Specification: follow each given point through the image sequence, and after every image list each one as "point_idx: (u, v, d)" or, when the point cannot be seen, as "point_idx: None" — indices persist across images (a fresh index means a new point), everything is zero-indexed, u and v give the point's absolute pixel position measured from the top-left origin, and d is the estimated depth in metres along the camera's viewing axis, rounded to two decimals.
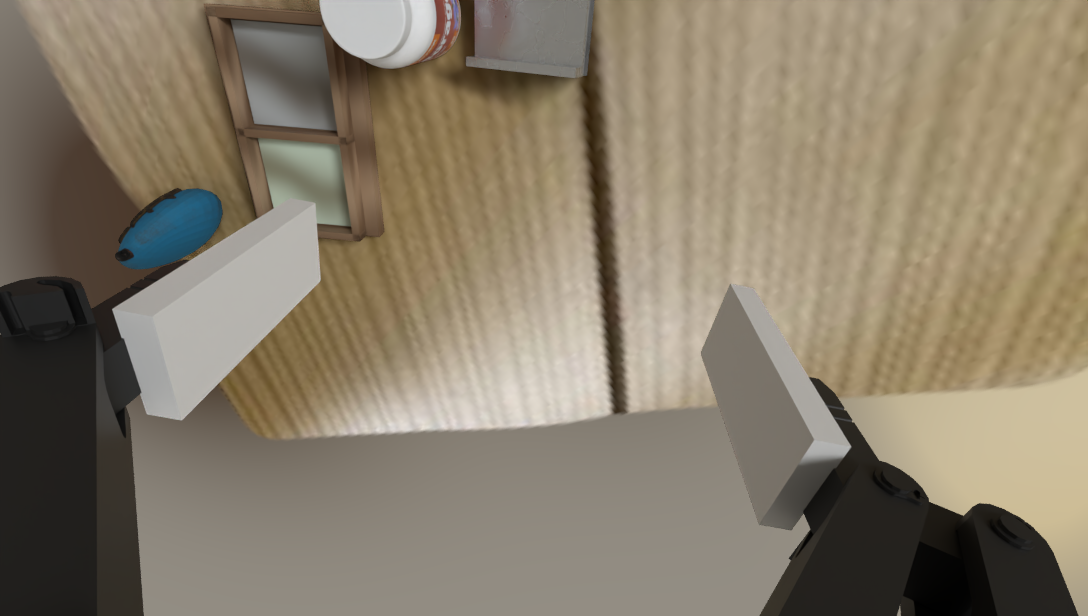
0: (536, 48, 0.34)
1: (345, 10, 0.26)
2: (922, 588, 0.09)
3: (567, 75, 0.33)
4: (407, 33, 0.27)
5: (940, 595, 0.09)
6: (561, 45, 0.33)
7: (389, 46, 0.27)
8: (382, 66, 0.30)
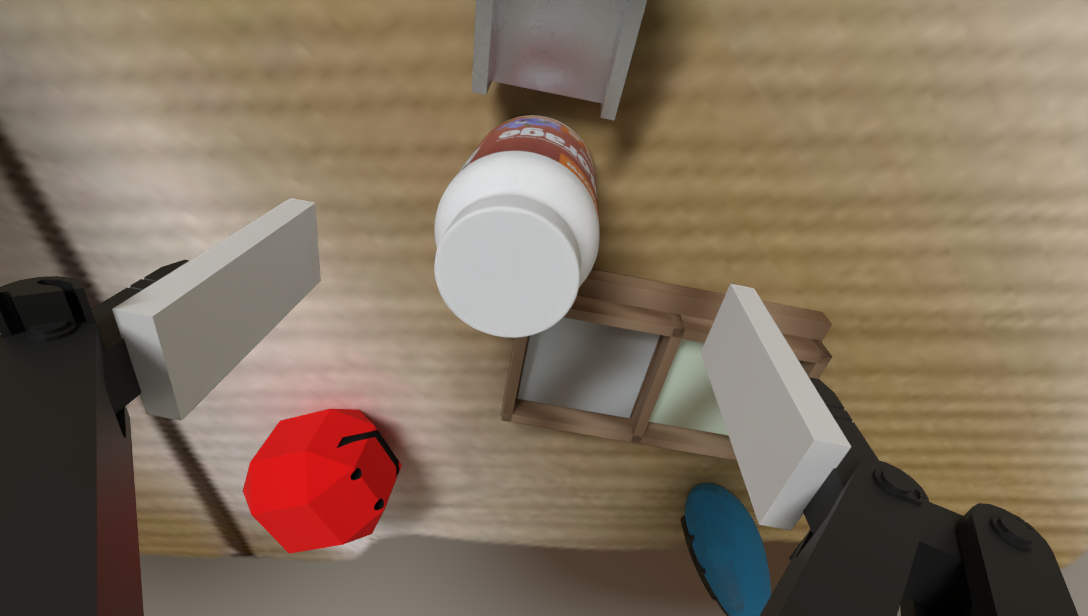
0: None
1: (503, 301, 0.16)
2: (922, 588, 0.09)
3: None
4: (548, 211, 0.15)
5: (940, 595, 0.09)
6: None
7: (563, 249, 0.15)
8: (592, 261, 0.18)
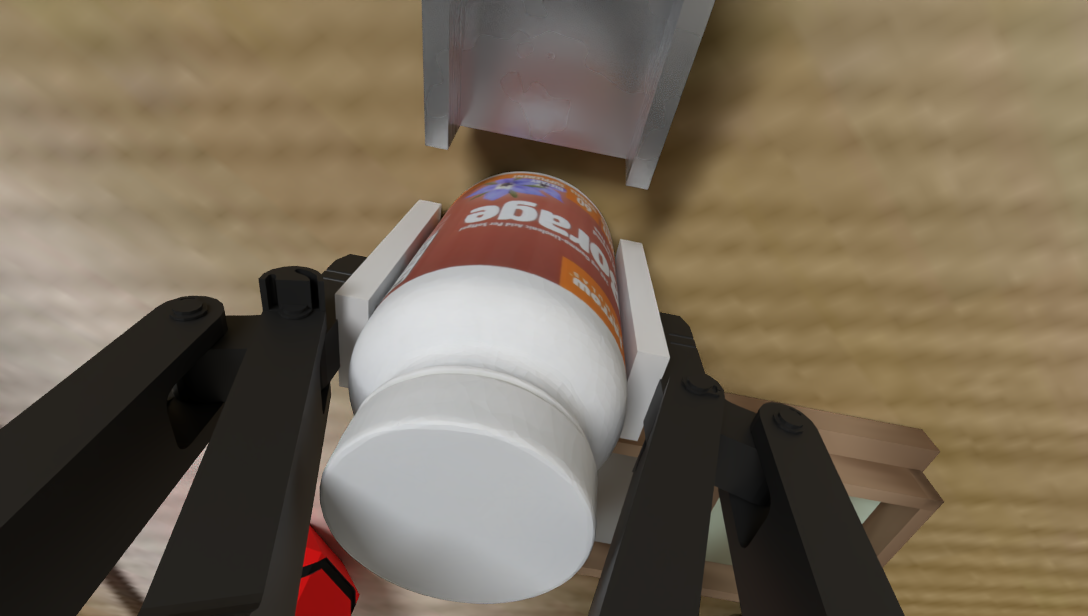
0: None
1: (452, 558, 0.09)
2: (722, 474, 0.11)
3: None
4: (536, 411, 0.08)
5: (736, 480, 0.11)
6: None
7: (564, 492, 0.07)
8: (615, 443, 0.11)
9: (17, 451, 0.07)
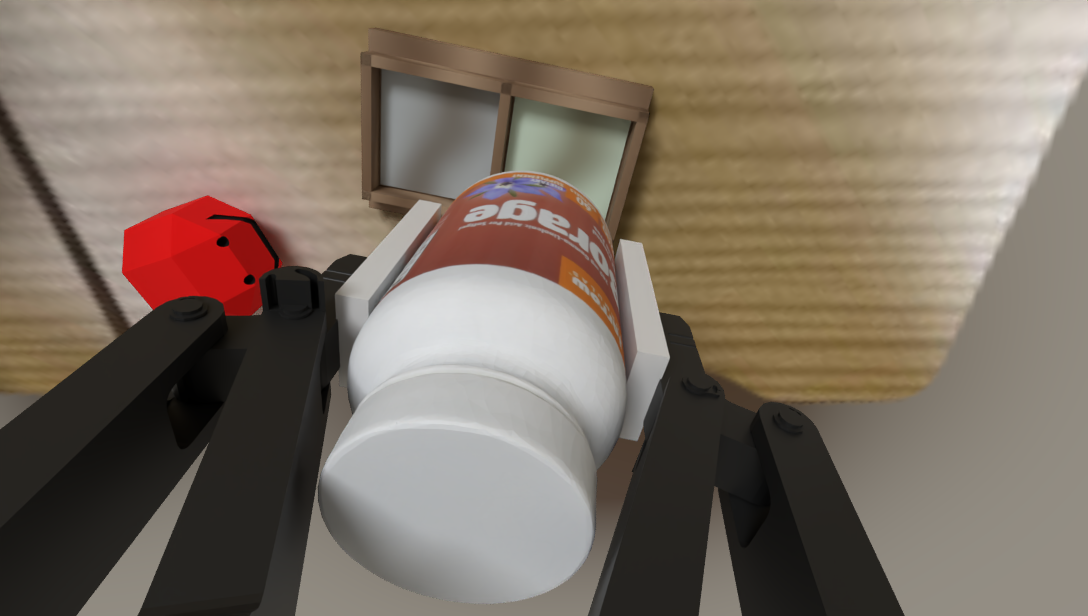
0: None
1: (451, 557, 0.09)
2: (722, 474, 0.11)
3: None
4: (534, 411, 0.08)
5: (735, 480, 0.11)
6: None
7: (563, 492, 0.07)
8: (615, 443, 0.11)
9: (17, 451, 0.07)
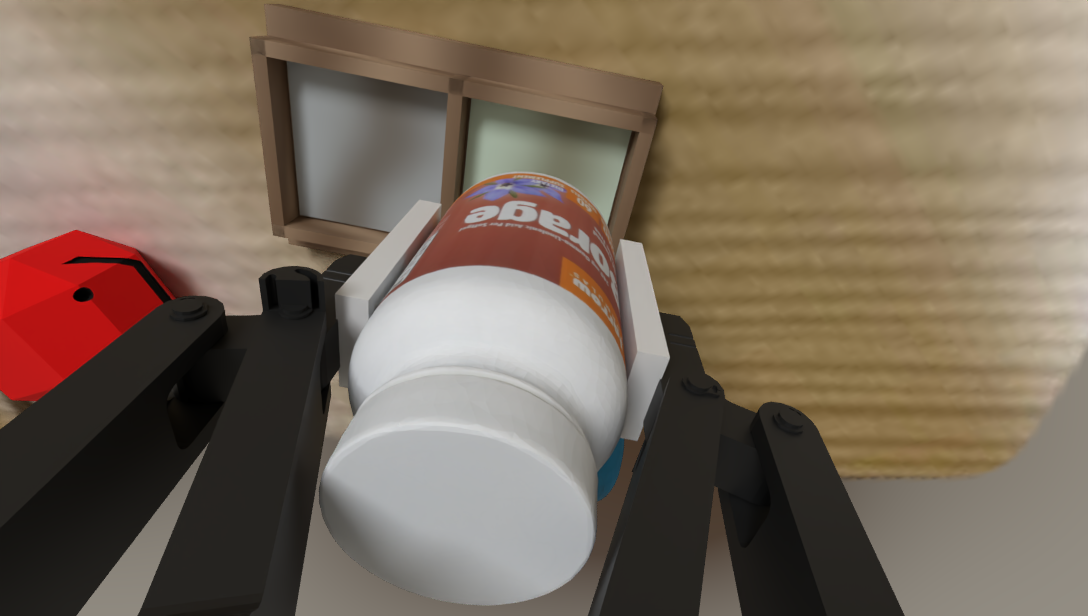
0: None
1: (452, 559, 0.09)
2: (722, 474, 0.11)
3: None
4: (536, 412, 0.08)
5: (736, 480, 0.11)
6: None
7: (565, 494, 0.07)
8: (616, 444, 0.11)
9: (17, 451, 0.07)
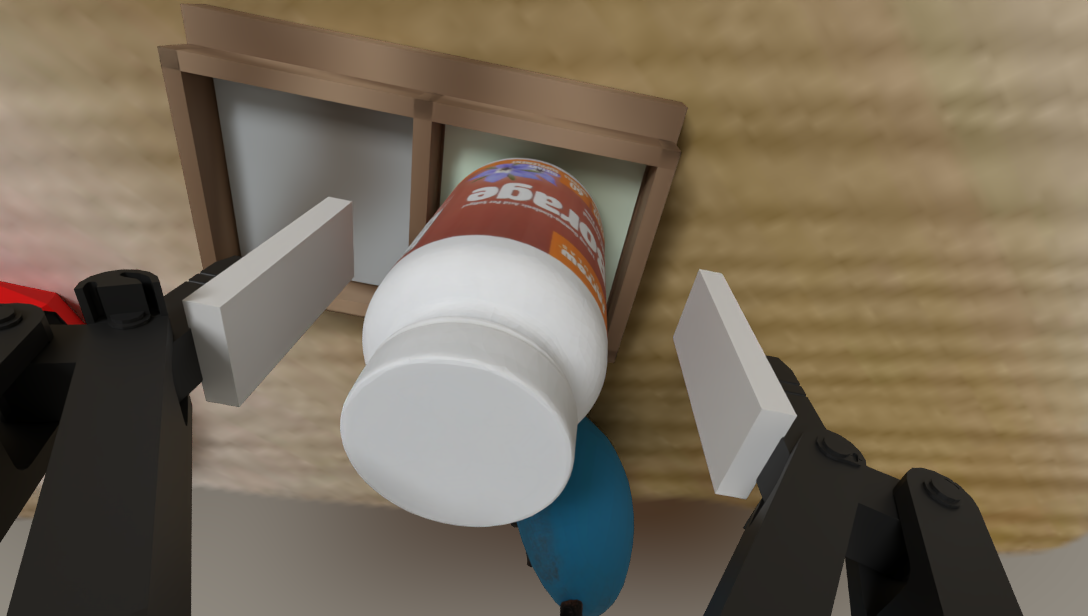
0: None
1: (452, 482, 0.10)
2: (861, 547, 0.10)
3: None
4: (524, 354, 0.09)
5: (878, 554, 0.10)
6: None
7: (547, 421, 0.09)
8: (596, 396, 0.12)
9: None
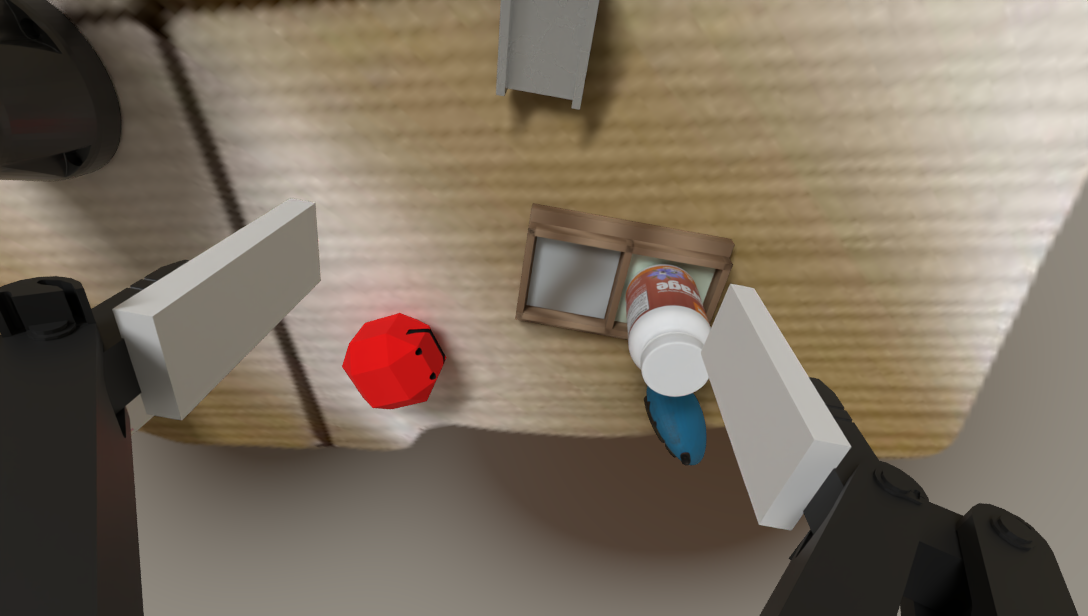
0: (572, 27, 0.32)
1: (672, 380, 0.34)
2: (923, 588, 0.09)
3: None
4: (698, 342, 0.33)
5: (940, 595, 0.09)
6: None
7: None
8: None
9: None
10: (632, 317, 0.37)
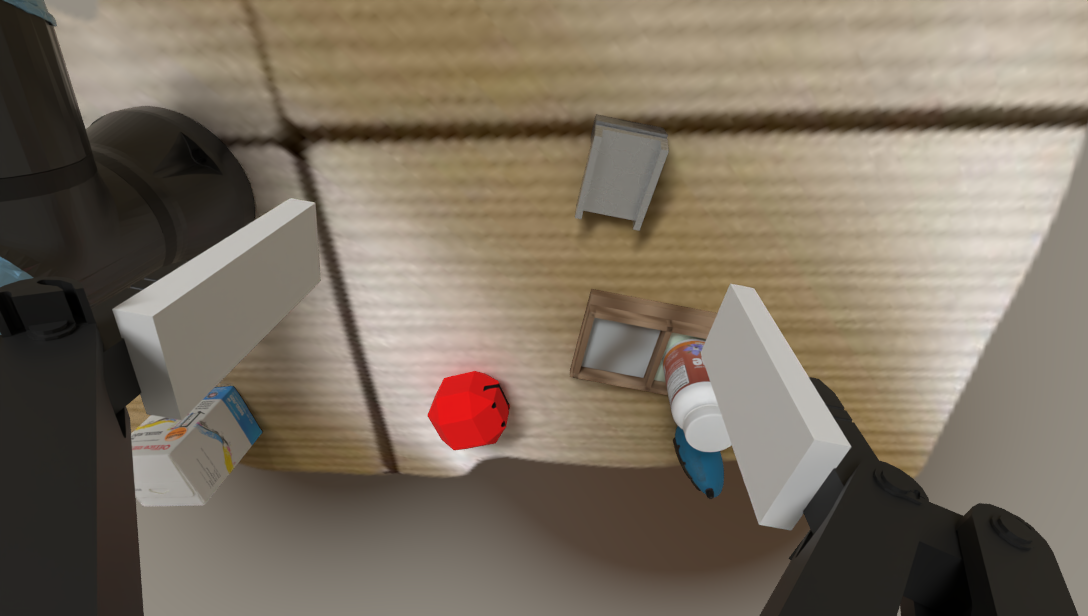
0: (638, 174, 0.42)
1: (708, 440, 0.45)
2: (923, 588, 0.09)
3: (665, 156, 0.39)
4: None
5: (940, 595, 0.09)
6: (641, 155, 0.41)
7: None
8: None
9: None
10: (674, 386, 0.48)
